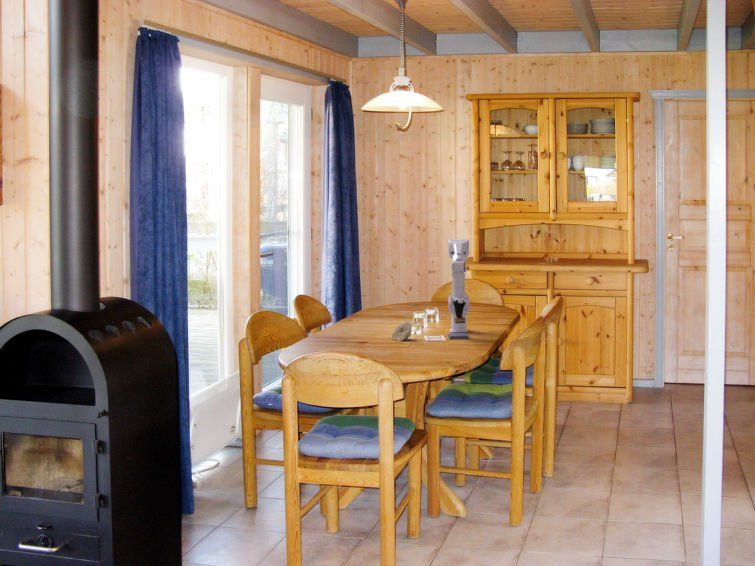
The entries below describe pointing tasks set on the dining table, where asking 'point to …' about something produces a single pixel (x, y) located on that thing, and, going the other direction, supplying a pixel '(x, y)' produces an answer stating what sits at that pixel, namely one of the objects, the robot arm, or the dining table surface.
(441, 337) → the sheet
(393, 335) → the stone
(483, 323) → the dining table surface
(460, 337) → the ink pad
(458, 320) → the stamp
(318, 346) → the dining table surface
